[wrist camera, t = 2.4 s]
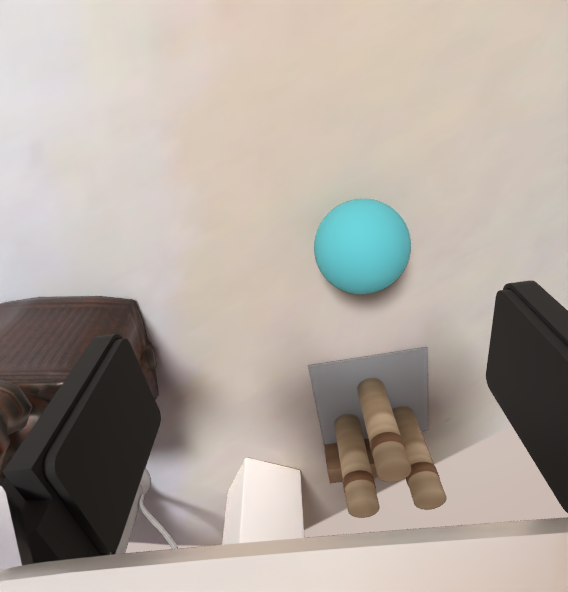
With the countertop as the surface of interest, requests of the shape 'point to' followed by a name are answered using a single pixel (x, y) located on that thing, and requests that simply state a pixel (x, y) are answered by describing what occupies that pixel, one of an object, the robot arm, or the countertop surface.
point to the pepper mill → (55, 354)
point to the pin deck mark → (349, 373)
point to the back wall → (334, 461)
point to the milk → (263, 504)
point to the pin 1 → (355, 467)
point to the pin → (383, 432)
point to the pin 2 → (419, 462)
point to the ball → (362, 246)
